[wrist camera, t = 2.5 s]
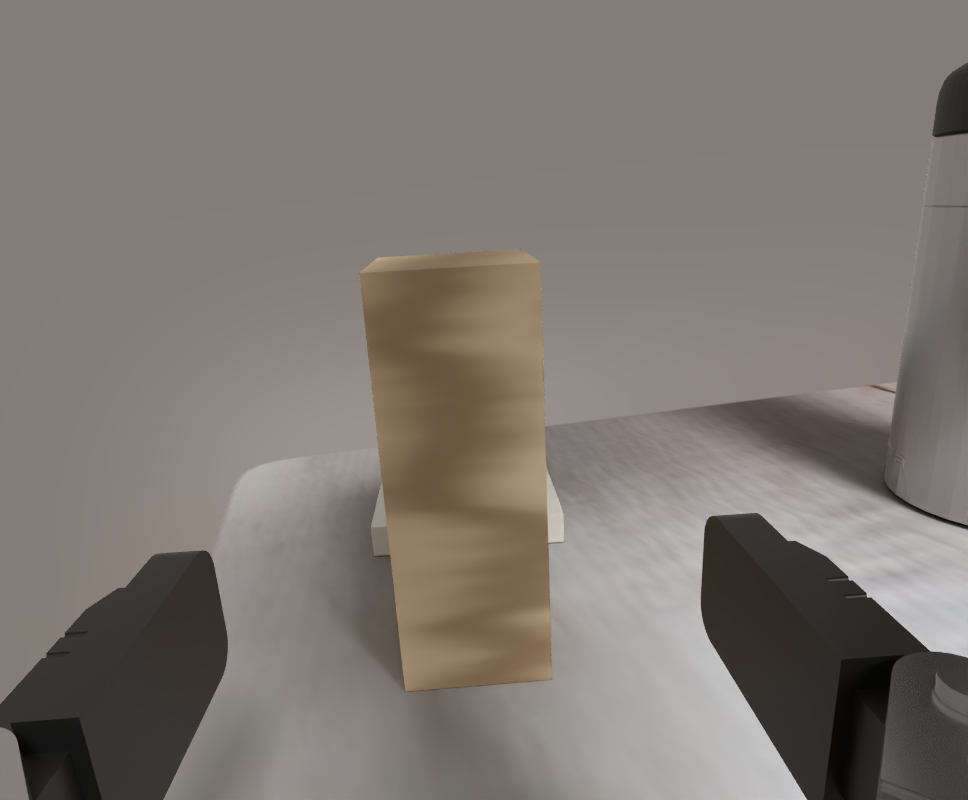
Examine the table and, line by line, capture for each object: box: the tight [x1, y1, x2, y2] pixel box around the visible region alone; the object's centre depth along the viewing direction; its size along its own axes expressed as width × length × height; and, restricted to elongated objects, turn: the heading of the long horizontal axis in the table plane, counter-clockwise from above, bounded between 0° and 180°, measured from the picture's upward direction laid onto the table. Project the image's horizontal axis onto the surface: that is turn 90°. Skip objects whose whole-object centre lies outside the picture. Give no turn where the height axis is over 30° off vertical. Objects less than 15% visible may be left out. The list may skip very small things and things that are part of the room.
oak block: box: [359, 249, 552, 692], centre depth 22 cm, size 5×5×14 cm
